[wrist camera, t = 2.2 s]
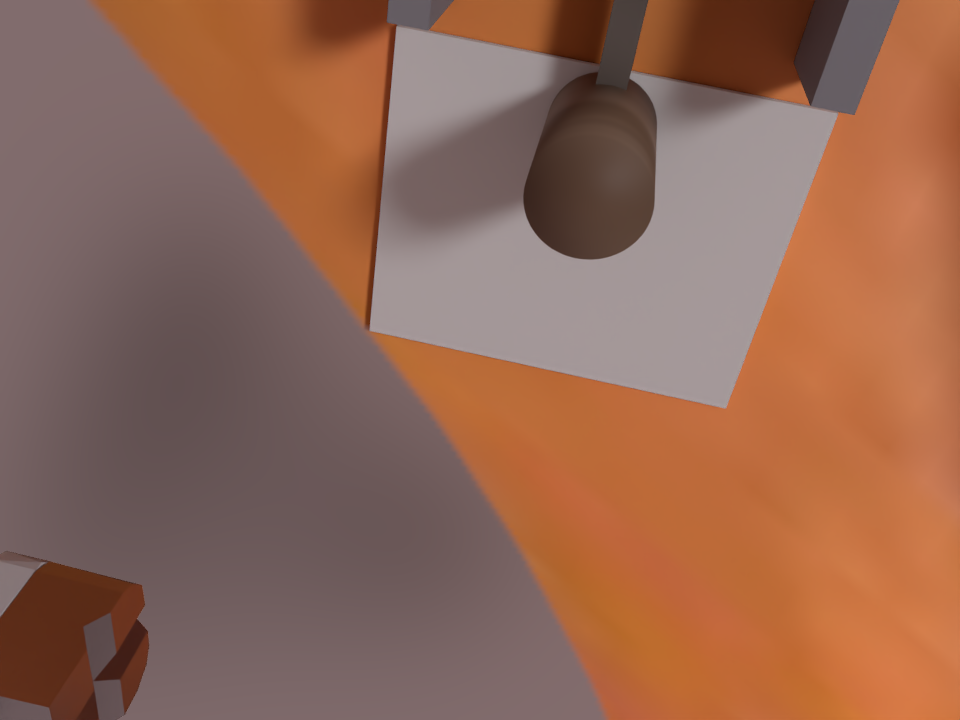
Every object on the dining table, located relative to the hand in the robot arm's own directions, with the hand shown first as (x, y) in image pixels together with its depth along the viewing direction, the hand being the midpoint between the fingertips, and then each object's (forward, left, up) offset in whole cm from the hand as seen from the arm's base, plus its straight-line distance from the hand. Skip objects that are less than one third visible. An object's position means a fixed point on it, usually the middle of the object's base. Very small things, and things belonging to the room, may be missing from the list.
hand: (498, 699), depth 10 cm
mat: (-4, 0, -19) cm, 19 cm away
